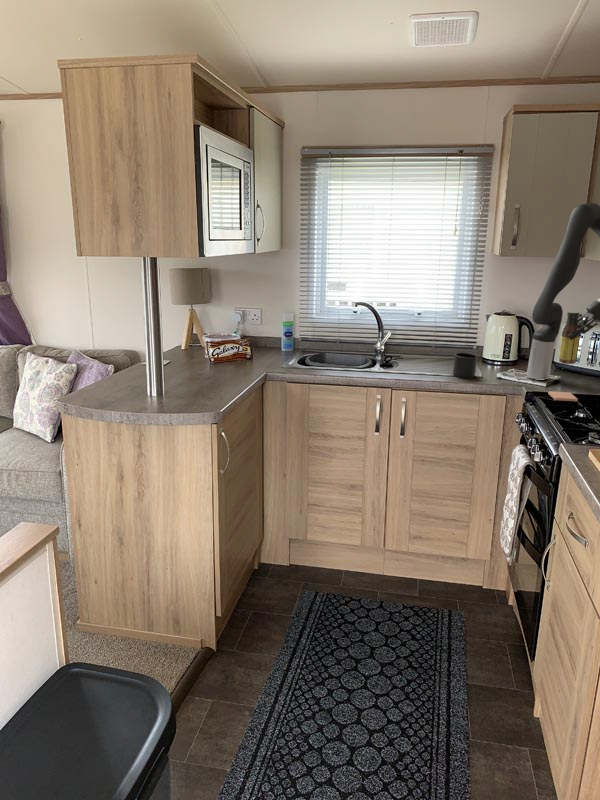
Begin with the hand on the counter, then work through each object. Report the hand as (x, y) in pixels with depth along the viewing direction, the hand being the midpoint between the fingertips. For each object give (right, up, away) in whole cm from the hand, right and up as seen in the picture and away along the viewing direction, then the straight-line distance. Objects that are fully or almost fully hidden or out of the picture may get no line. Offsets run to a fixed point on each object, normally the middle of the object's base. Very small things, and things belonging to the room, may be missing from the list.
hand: (566, 336), depth 234 cm
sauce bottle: (+1, -10, +3) cm, 11 cm away
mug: (-31, -13, +34) cm, 48 cm away
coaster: (+2, -23, +7) cm, 25 cm away
